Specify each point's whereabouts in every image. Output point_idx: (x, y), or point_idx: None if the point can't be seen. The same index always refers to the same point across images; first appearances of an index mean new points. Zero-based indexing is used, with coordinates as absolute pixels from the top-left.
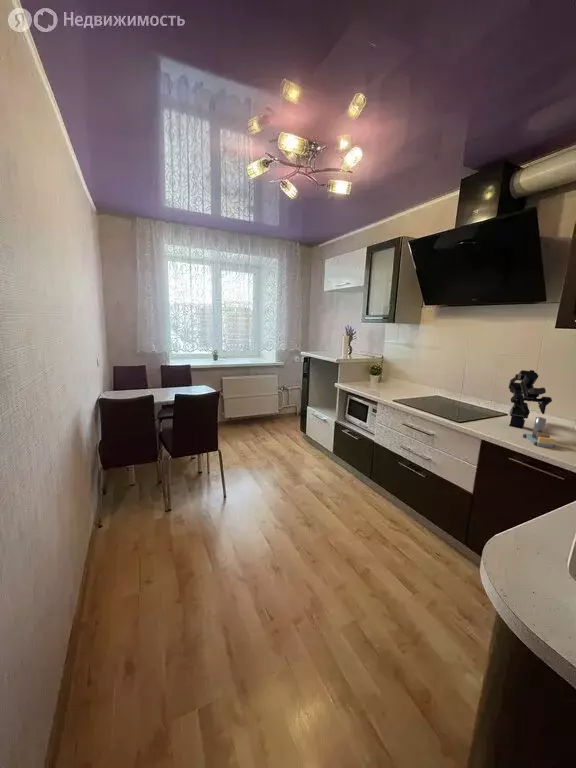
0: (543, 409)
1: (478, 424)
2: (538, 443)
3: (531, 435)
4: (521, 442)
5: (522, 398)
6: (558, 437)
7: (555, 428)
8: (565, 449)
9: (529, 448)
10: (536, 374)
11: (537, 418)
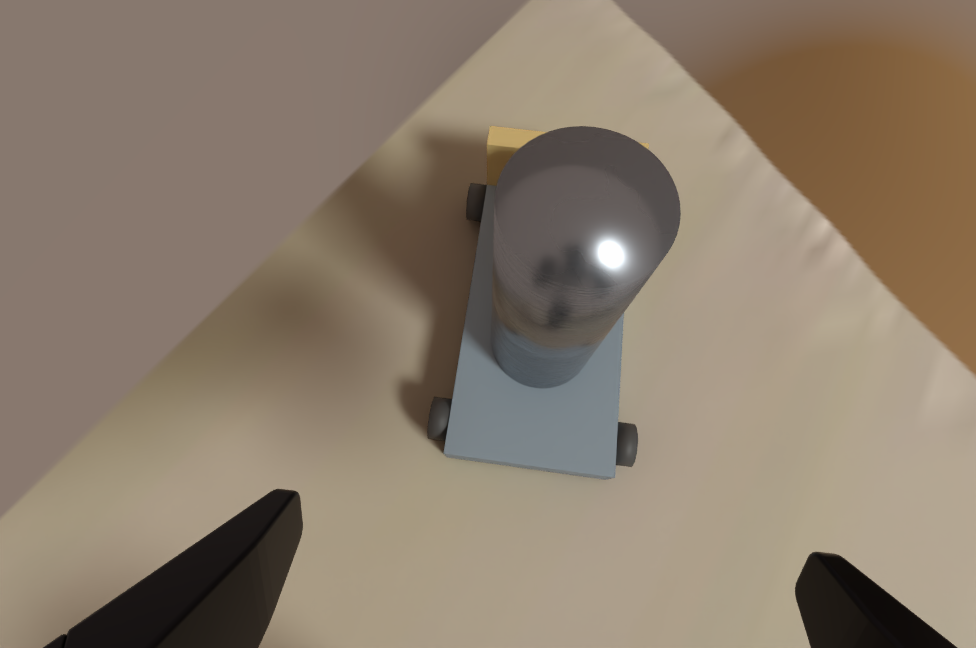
0: (212, 582)
1: None
2: None
3: (562, 407)
4: (731, 285)
5: None
6: (116, 543)
7: None
8: (379, 182)
9: (729, 153)
10: None
11: (675, 187)
